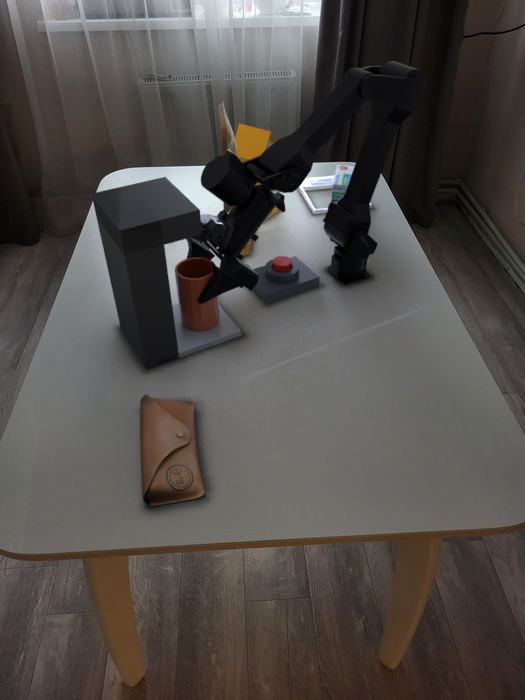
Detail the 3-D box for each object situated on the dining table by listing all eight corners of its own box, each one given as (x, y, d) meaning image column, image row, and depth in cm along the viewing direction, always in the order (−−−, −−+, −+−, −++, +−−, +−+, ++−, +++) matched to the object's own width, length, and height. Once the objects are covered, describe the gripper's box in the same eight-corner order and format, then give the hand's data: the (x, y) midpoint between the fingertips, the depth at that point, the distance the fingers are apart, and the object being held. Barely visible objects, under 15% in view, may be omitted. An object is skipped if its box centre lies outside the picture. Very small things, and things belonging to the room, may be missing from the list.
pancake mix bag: (218, 264, 117) (209, 129, 98) (226, 220, 131) (219, 95, 113) (250, 265, 117) (247, 129, 98) (254, 221, 131) (252, 96, 113)
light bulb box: (357, 231, 127) (363, 187, 120) (327, 228, 128) (331, 184, 121) (360, 208, 135) (366, 166, 128) (332, 206, 136) (337, 163, 129)
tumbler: (220, 307, 103) (217, 256, 96) (218, 331, 98) (214, 279, 91) (183, 308, 103) (177, 257, 96) (179, 331, 98) (172, 279, 91)
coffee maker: (209, 298, 108) (199, 168, 91) (241, 335, 99) (236, 200, 82) (120, 327, 101) (91, 193, 84) (146, 370, 92) (119, 230, 75)
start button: (285, 261, 111) (285, 254, 110) (294, 270, 109) (295, 262, 107) (269, 266, 110) (269, 258, 108) (279, 275, 107) (279, 267, 106)
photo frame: (348, 173, 148) (372, 203, 135) (347, 177, 149) (371, 208, 136) (295, 178, 146) (314, 209, 133) (294, 182, 147) (313, 214, 133)
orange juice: (250, 200, 139) (249, 118, 126) (279, 210, 135) (281, 126, 122) (231, 212, 134) (228, 128, 121) (261, 222, 130) (260, 137, 117)
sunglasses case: (209, 495, 73) (179, 472, 69) (166, 518, 75) (134, 497, 71) (195, 398, 87) (169, 375, 82) (159, 419, 88) (132, 397, 84)
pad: (295, 264, 117) (295, 248, 114) (319, 286, 111) (320, 269, 108) (244, 281, 112) (244, 264, 110) (267, 304, 106) (267, 286, 104)
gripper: (187, 172, 93) (135, 247, 96) (240, 218, 81) (177, 302, 84) (231, 205, 101) (181, 273, 104) (285, 251, 89) (226, 327, 92)
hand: (190, 291), depth 96 cm, fingers closed on tumbler, 7 cm apart
